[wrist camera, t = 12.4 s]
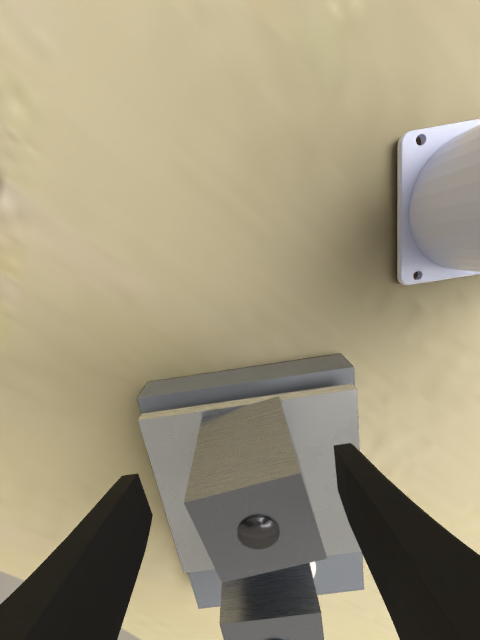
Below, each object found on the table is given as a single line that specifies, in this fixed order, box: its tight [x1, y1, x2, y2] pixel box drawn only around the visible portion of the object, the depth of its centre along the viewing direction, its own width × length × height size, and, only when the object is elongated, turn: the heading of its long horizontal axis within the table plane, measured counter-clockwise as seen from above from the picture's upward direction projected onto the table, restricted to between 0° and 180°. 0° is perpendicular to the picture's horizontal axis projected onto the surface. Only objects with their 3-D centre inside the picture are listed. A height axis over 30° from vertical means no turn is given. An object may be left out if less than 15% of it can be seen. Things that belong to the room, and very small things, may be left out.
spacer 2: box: [220, 563, 324, 640], centre depth 14 cm, size 4×4×5 cm
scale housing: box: [137, 354, 364, 609], centre depth 19 cm, size 13×19×2 cm
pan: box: [138, 384, 362, 573], centre depth 17 cm, size 12×12×3 cm
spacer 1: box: [184, 396, 327, 583], centre depth 12 cm, size 4×4×5 cm
